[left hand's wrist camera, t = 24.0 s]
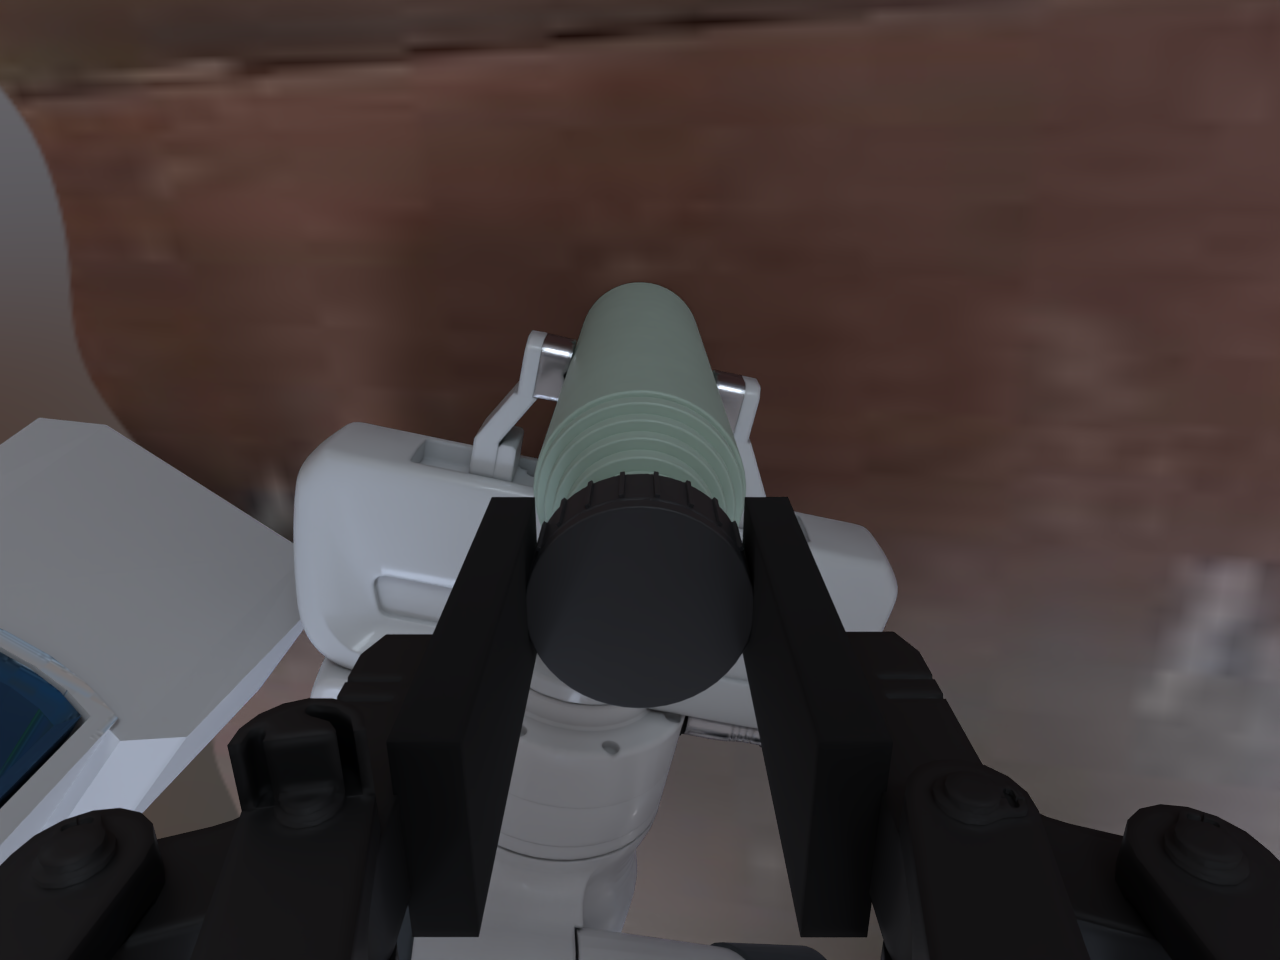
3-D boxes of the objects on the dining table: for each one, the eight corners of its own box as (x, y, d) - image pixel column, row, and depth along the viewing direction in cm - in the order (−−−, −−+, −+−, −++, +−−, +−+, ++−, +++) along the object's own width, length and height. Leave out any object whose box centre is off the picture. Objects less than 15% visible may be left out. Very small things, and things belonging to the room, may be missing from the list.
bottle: (713, 377, 34) (808, 661, 15) (605, 414, 34) (562, 734, 15) (676, 264, 32) (729, 423, 13) (563, 305, 32) (457, 514, 14)
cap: (582, 688, 16) (576, 740, 14) (495, 514, 14) (480, 552, 13) (775, 622, 15) (789, 669, 14) (703, 437, 14) (710, 468, 13)
